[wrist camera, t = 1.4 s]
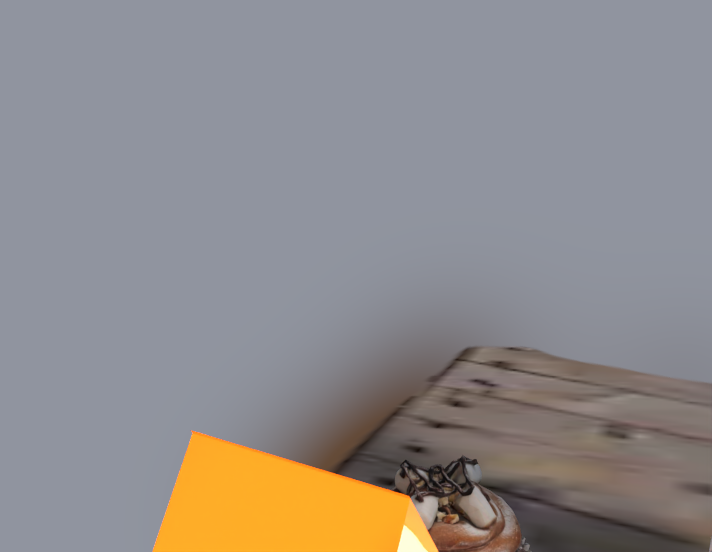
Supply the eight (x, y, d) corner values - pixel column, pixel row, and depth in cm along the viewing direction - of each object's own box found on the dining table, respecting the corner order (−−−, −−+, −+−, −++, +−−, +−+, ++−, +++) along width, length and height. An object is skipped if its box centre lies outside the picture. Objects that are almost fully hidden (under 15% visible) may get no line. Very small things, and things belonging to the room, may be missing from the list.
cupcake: (406, 701, 36) (409, 540, 33) (353, 580, 45) (352, 447, 42) (561, 657, 39) (574, 505, 36) (482, 551, 48) (488, 424, 45)
